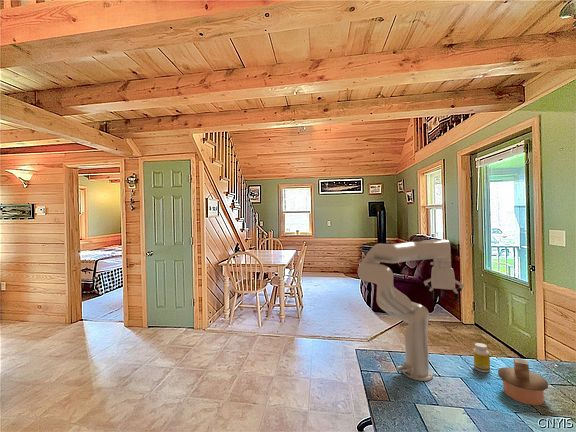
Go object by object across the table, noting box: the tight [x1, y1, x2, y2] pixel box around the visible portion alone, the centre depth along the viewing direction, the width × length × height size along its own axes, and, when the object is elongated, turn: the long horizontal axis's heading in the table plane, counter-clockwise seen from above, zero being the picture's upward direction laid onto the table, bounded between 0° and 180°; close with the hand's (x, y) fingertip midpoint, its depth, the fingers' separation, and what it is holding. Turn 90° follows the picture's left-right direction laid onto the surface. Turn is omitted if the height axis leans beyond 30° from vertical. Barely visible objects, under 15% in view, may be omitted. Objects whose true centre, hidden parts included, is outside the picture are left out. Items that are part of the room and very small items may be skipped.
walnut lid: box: [497, 357, 549, 391], centre depth 109 cm, size 15×15×7 cm
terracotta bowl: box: [502, 380, 545, 406], centre depth 109 cm, size 12×12×6 cm
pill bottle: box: [472, 342, 491, 373], centre depth 129 cm, size 6×6×11 cm
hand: (443, 300), depth 137 cm, fingers open, 9 cm apart
